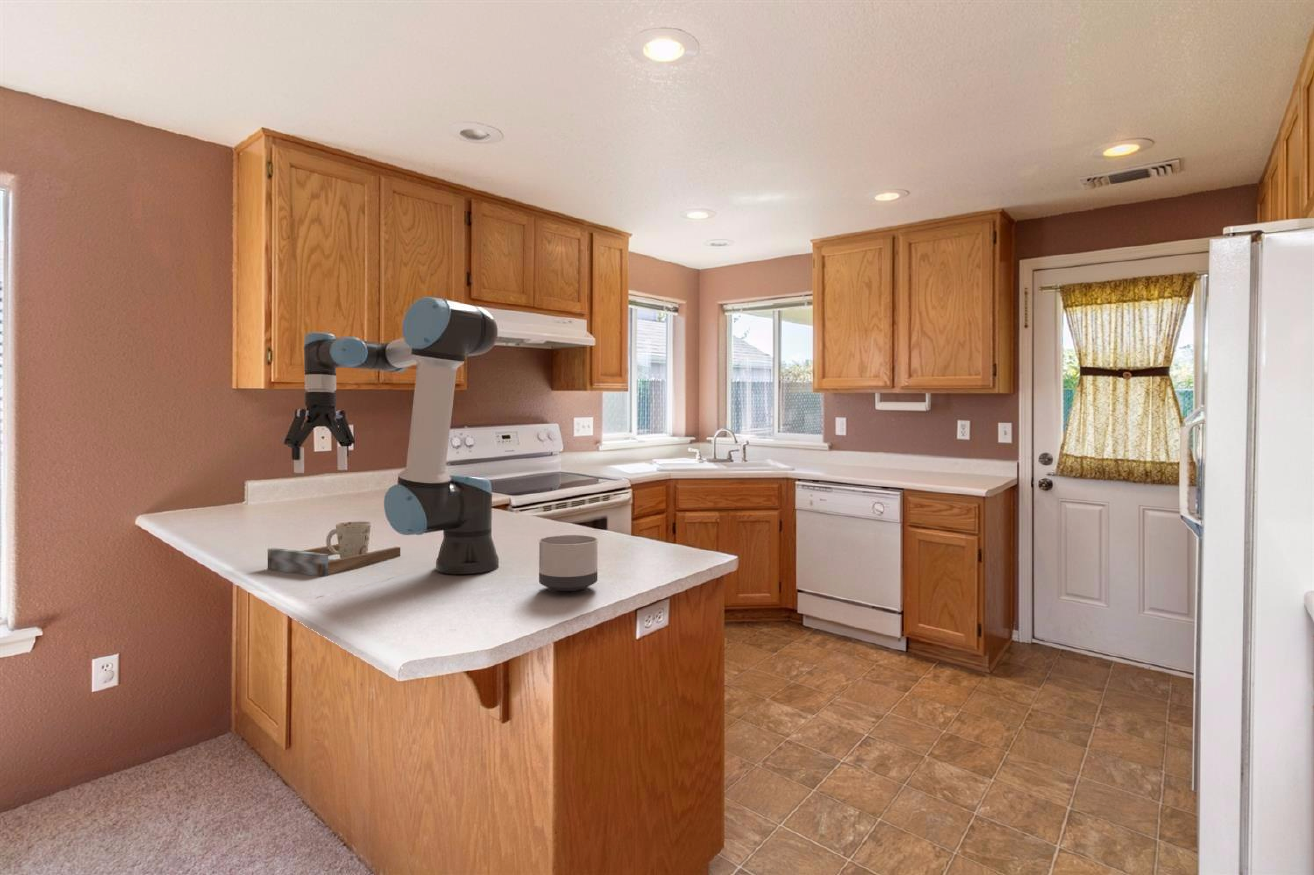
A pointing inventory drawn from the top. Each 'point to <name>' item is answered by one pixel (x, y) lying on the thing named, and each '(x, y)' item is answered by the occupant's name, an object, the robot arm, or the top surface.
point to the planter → (568, 562)
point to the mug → (350, 538)
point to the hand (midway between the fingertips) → (321, 471)
